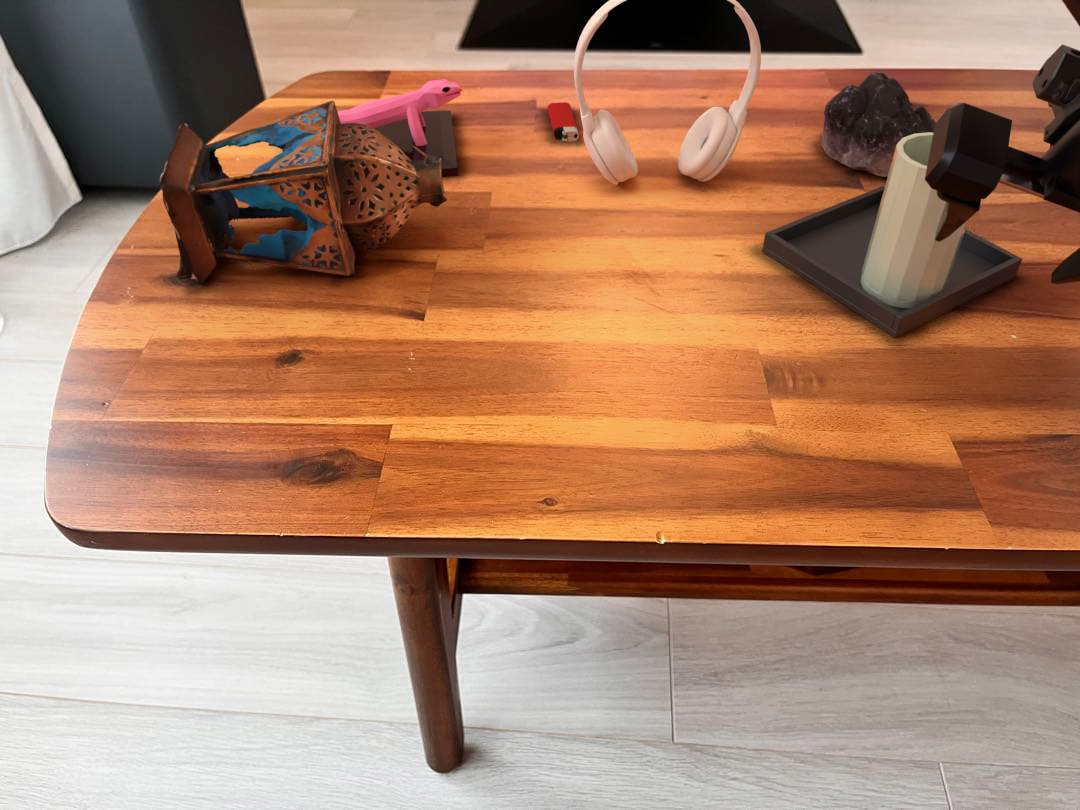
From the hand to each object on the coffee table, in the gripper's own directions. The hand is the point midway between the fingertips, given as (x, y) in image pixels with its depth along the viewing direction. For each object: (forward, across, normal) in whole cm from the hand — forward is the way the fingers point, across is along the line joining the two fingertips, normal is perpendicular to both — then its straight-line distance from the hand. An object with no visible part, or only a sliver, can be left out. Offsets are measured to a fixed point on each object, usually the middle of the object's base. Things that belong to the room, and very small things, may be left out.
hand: (995, 257), depth 67 cm
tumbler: (+13, +2, -5) cm, 14 cm away
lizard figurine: (+32, +56, -13) cm, 66 cm away
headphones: (+25, +25, -17) cm, 39 cm away
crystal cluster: (+24, +3, -30) cm, 38 cm away
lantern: (+24, +54, +6) cm, 59 cm away
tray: (+15, +2, -8) cm, 17 cm away
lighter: (+32, +38, -25) cm, 55 cm away
